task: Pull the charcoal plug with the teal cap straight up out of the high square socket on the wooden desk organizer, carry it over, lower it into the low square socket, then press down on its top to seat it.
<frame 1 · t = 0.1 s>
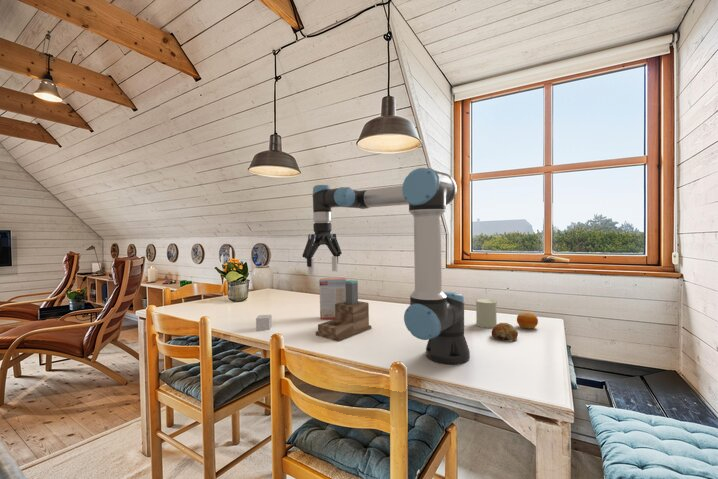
hand: (323, 273, 138), 28 cm above the table, tool pointing down, fingers open, 13 cm apart
bread roll: (504, 338, 136), on the table
plug: (352, 310, 152), point 8 cm above the table, touching wooden desk organizer
cracker box: (334, 318, 173), on the table
can: (486, 325, 155), on the table
gray cube: (264, 329, 155), on the table
wooden desk organizer: (344, 331, 148), on the table
fruit: (527, 328, 150), on the table
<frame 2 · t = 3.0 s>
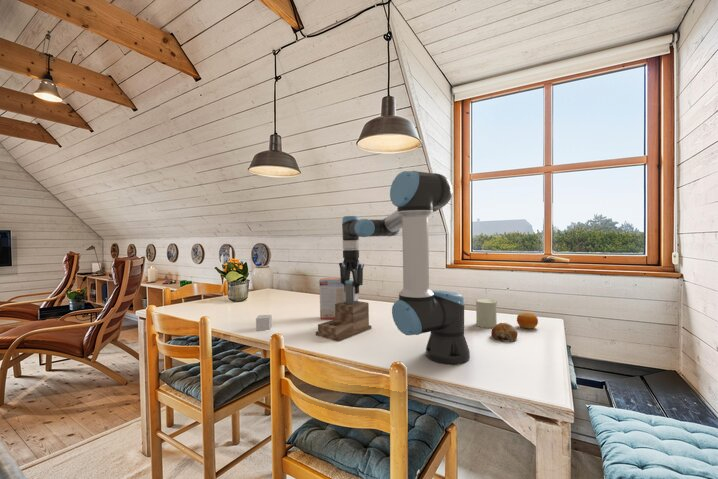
hand: (351, 299, 152), 14 cm above the table, tool pointing down, fingers closed on plug, 4 cm apart
plug: (352, 310, 152), point 8 cm above the table, touching gripper, wooden desk organizer
everything else where it was.
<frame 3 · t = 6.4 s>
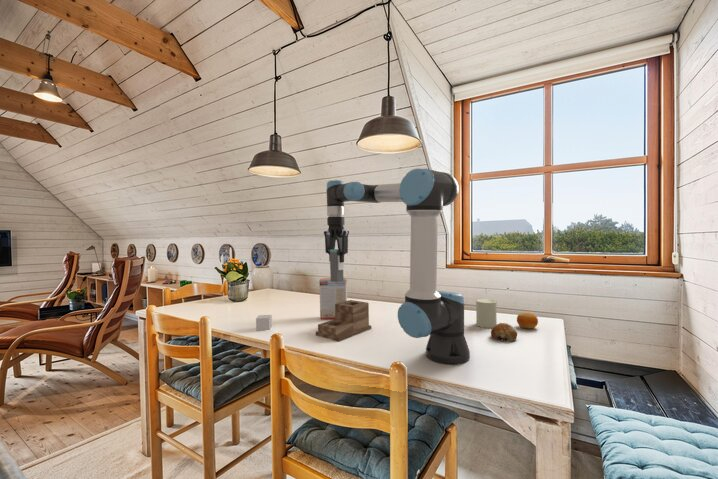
hand: (336, 269, 144), 29 cm above the table, tool pointing down, fingers closed on plug, 4 cm apart
plug: (337, 281, 144), point 24 cm above the table, touching gripper
everything else where it was.
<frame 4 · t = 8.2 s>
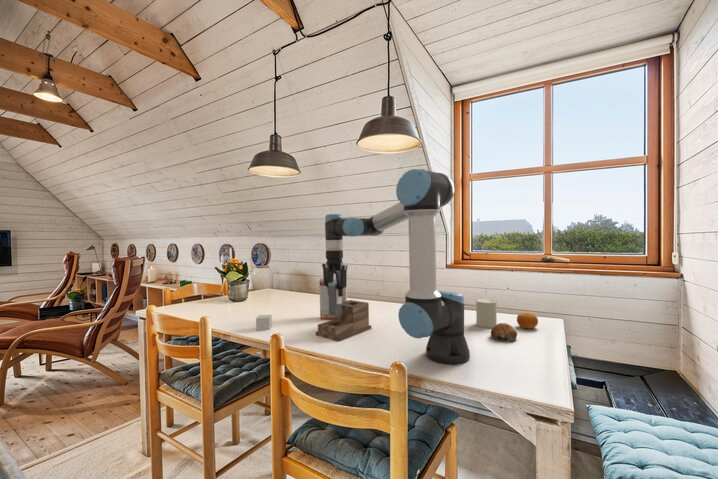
hand: (335, 302, 143), 14 cm above the table, tool pointing down, fingers closed on plug, 4 cm apart
plug: (335, 314, 143), point 9 cm above the table, touching gripper
everything else where it was.
when the fingers open (8 cm above the table, at t = 9.8 s): plug stays where it is, resting on wooden desk organizer.
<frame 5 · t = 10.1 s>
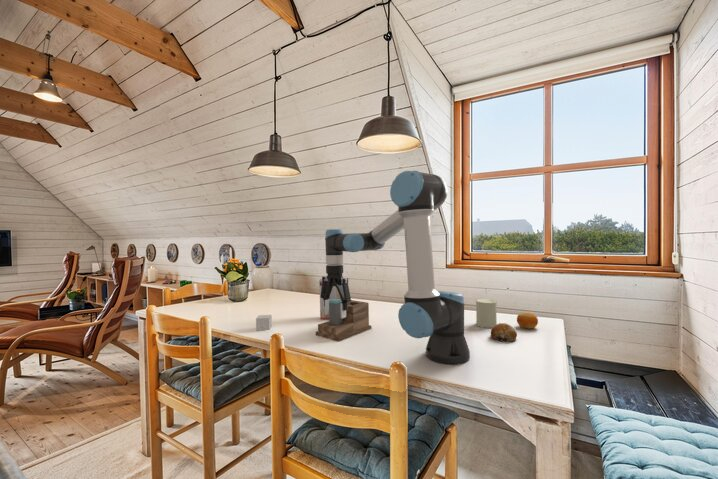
hand: (335, 315, 143), 8 cm above the table, tool pointing down, fingers open, 9 cm apart
plug: (335, 331, 143), point 2 cm above the table, touching wooden desk organizer
everything else where it was.
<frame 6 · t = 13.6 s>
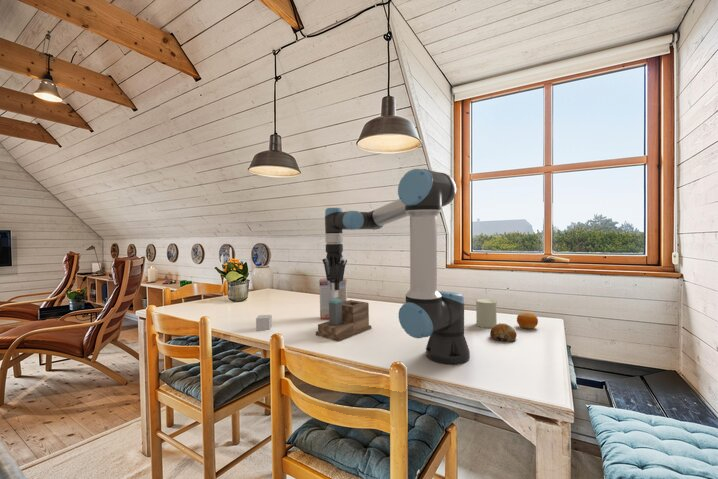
hand: (335, 297, 143), 17 cm above the table, tool pointing down, fingers closed
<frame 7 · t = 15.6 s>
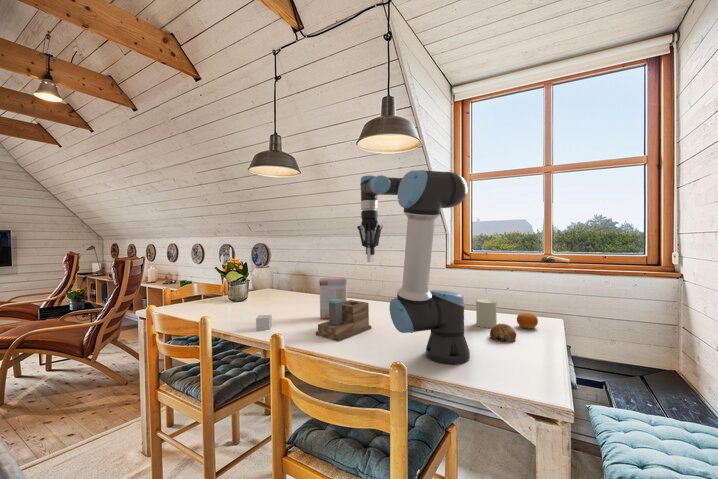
hand: (370, 261, 150), 31 cm above the table, tool pointing down, fingers closed
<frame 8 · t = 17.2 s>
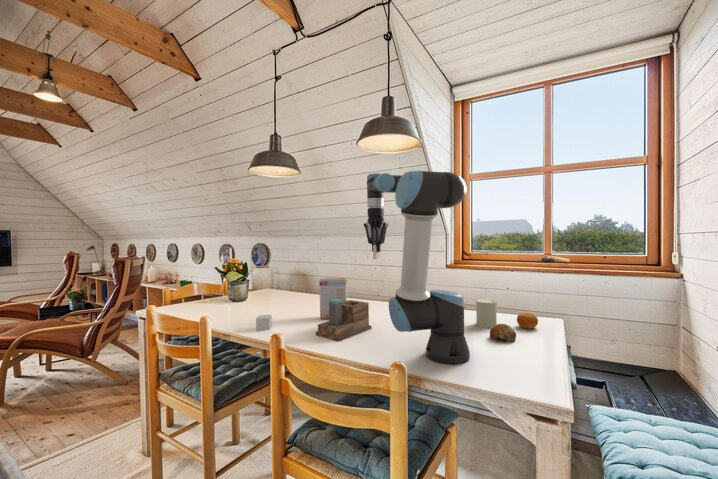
hand: (376, 259, 151), 32 cm above the table, tool pointing down, fingers closed
at the end: plug 0.1 cm from the target spot on the wooden desk organizer, point 1.5 cm above the wooden desk organizer's base; plug tilted 0°; the gripper is holding nothing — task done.
